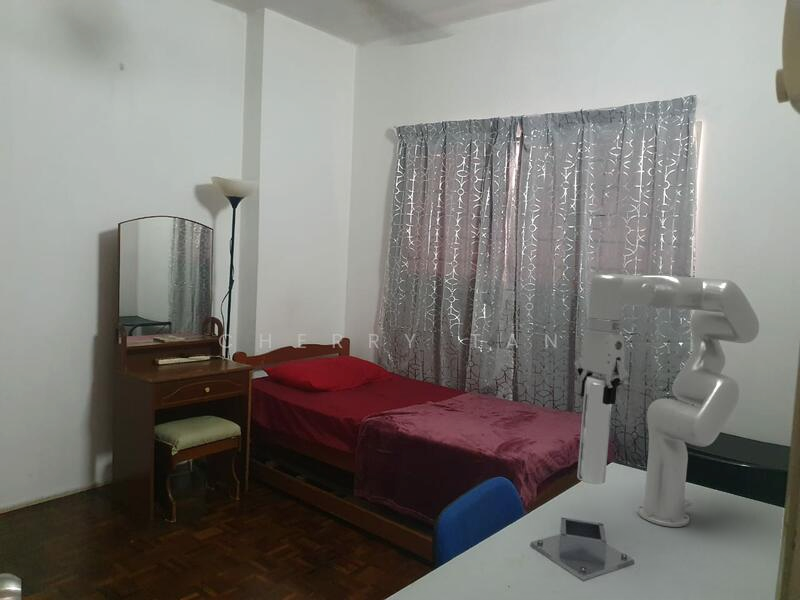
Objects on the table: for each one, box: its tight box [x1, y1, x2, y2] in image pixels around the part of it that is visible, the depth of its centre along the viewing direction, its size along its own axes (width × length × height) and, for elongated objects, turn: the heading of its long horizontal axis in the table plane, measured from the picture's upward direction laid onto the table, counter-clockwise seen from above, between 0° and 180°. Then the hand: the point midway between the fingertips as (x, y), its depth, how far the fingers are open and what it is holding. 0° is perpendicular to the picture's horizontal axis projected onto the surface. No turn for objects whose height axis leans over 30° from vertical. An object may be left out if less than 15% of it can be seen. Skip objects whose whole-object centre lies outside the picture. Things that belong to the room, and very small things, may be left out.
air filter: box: [576, 375, 613, 485], centre depth 141 cm, size 6×6×25 cm
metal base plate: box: [530, 517, 635, 582], centre depth 133 cm, size 16×16×6 cm
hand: (597, 399), depth 141 cm, fingers closed on air filter, 6 cm apart
